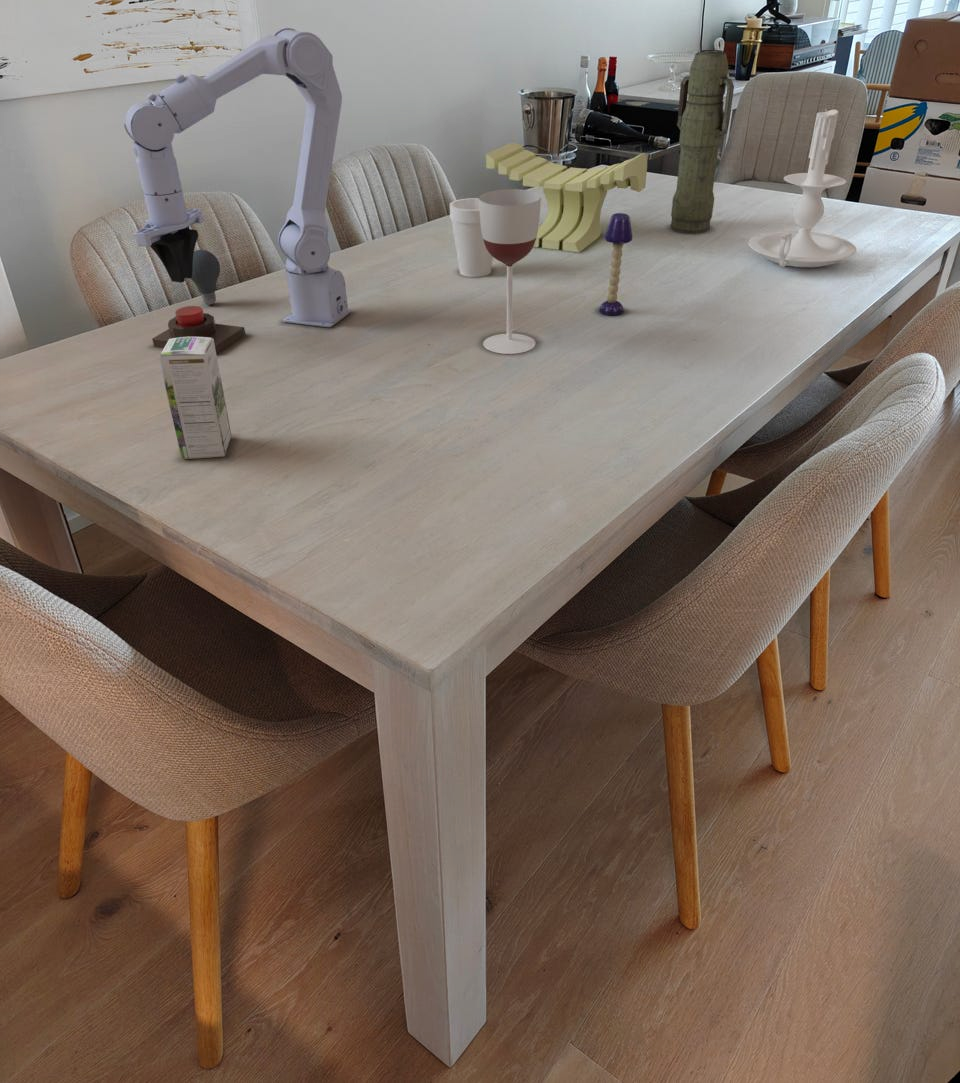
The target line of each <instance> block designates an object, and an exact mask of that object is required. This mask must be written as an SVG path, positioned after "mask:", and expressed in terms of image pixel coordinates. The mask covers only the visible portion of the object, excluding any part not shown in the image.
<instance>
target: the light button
mask: <svg viewBox="0 0 960 1083" xmlns="http://www.w3.org/2000/svg"><path fill="white" fill-rule="evenodd" d="M204 313H205V312H204V309H203V307H201V306H198V305H187V306H182V307H180V308H178V309H176V310H175V312H174V314H175V317H176V318H177V323H178V325H179V326H195V325H198V324H202V323H204V322H205V318H204Z"/></svg>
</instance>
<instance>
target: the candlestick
mask: <svg viewBox="0 0 960 1083" xmlns="http://www.w3.org/2000/svg"><path fill="white" fill-rule="evenodd" d="M824 109H825V111H819V112H816V117H815V121H814V126H813V132H812V136H811V142H810V147H809V148H810V149H809V154H808V157H807V158H808V159H809V164H808V169H807V172H798V173H791V174H786V175H785V176H784V177H783V180H784V182H786V183H788V184H791V185H794V186H797V187H799V188H800V189H801V190H802V195H801V197H799V199H798V200H797V202H796V203H795V205H794V207H793V210H792V217H793V220H794V222H795V224H796V225H797V227H799V228H798V230H778V231H777V230H776V231H769V232H763V233H760V234H759V233H758V234H757V235H754V236H752V237H751V238H750V239H749V240H748V246H749V247H750V249H752V250H753V251H755V252H757V253H758V254H759V255H761V257H763V258H765V259H767V260H768V261H771V262H773V263H776V264H778V265H779V267H782V268H785V267H786V266H788V267H795V268H820V267H821V268H822V267H825V266H829V265H833V264H836V263H838V262H841V261H842V260H845V259H849V258H851V257H853V256H854V255H855V254H856V253H857V250H858V249H857V246H855V244H853V243H852V242H851V241H848V240H847V239H844V238H841V237H839V236H834V235H830V234H827V233H821V232H816V231H815V232H814V231H812V229H813V228H814V227H815V226H816V225H818V223H820V221H821V220H822V218H823V217H824V214H825V206H824V202H823V199H822V193H823V191H824V190H826V189H829V188H835V187H839V186H843V185H845V184H846V183H847V180H846V179H845V178H843V177H841V176H838V175H835V174H827V173H825V171H826V167H827V166H826V165H828V164H829V156H830V152H831V147H832V142H833V139H835V133H836V132H835V131H836V127H837V122H838V116H839V110H837V109H835V108H834V109H830V110H827V108H824Z"/></svg>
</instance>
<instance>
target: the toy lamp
mask: <svg viewBox="0 0 960 1083" xmlns="http://www.w3.org/2000/svg"><path fill="white" fill-rule="evenodd" d="M604 240H605V241H606V242H608V243H611V244H612V248H613V249H612V252H611V256H612V258H611V261H610V265H611V267H610V271H609V274H610V276H609V280H608V282H609V284H608V289H607V290H608V291H607V292H608V293H607V298H606V299H607V300H605V301H603V302H602V303H601V304H600V307H599V312H600V313H601V314H602V315H605V316H612V317H613V316H620V315H622V314H623V313H624V305H623V304H622V303H621V302H620V301H618V292H619V283H620V274H621V265H622V257H623V250H622V249H623V247H624V244H628V243H631V242H632V241H633V230H632V224H631V217H630V215H629V214H626V213H624V212H623V213H622V212H617V213H613V214H611V217H610V219H609V222H608V225H607V227H606V231H605V234H604Z"/></svg>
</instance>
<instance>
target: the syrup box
mask: <svg viewBox="0 0 960 1083" xmlns="http://www.w3.org/2000/svg"><path fill="white" fill-rule="evenodd" d="M158 360H159V365H160V368H161V370H160V371H161V373H162V378H163V382H164V387H165V391H166V396H167V401H168V405H169V409H170V414H171V419H172V422H173V427H174V432H175V436H176V439H177V445H178V449H179V453H180V458H181V459H183V460H191V459H192V460H193V459H194V460H195V459H208V458H223V457H226V455H227V451H228V449H229V446H230V442H231V440H232V431H231V430H232V429H231V425H230V420H229V419H230V418H229V414H228V409H227V403H226V399H225V398H226V397H225V393H224V388H223V387H224V386H223V381H222V377H221V372H220V367H219V366H220V365H219V361H218V354H217V355H216V350H215V345H214V339H213V338H209V337H179V338H172V339H169V340H168V342H167V344H166V346H165V347H164V348H162V351H161V352H160V355H159V356H158Z"/></svg>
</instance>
